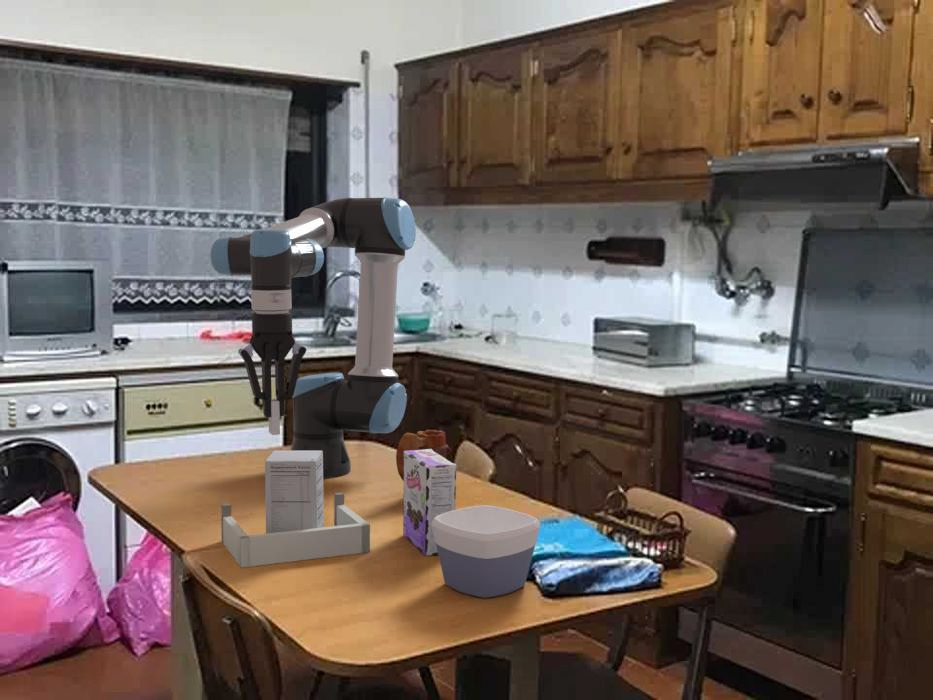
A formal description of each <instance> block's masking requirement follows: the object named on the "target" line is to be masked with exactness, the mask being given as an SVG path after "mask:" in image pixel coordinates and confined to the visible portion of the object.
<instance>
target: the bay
mask: <svg viewBox="0 0 933 700" xmlns="http://www.w3.org/2000/svg"><path fill="white" fill-rule="evenodd" d="M333 503H334V506H333V507H334V508H333V509H334V510H333V511H334V512H333V518H334V519H333V522H334V523H333V525H332V526H324V527H322V528H313V529H304V530H294V531H285V532H276V533H267V534H266V533H260V534H252V535H248V534H247V533H246V532H245V530H244V528H242V527H241V525H240V524H239V523H238V522H237V521H236V520H235V518H234V517H233V516H232V505H231V503H221V504H220V508H221V510H220V513H221V514H220V517H221V518H220V520H221V523H220V524H221V525H220V526H221V543H223V545H224V546H225V549H227V551H228V552H229V553H230V554H231V556H232V557H233V559H234V560H235V561H236V563H237V564H238V565H239V567H240V568H249V567H250V568H251V567H257V566H265V565H266V566H267V565H275V564H283V563H290V562H299V561H307V560H315V559H322V558H323V559H324V558H331V557H333V558H334V557H338V556H339V557H341V556H348V555H356V554H363V553H364V554H365V553H370V552H371V523H368V522H367V521H366V520H364V519H363V518H362V517H361V516H360V515H358V514H357V513H356V512H354V510H351V508H350V507H348V506H347V505H345V494H344V492H335V493H334V494H333Z"/></svg>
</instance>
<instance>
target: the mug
mask: <svg viewBox="0 0 933 700" xmlns="http://www.w3.org/2000/svg"><path fill="white" fill-rule="evenodd" d="M446 435H447V434H446V432H445V431H443V430H437V429H426V430H423V431H422V430H419V431H417V432H416V433H413V432H412V433H411V432H405V433H404V434H403V435H402V436H401V438H400V439H399V443H398V445H397V447H396V454H395V461H396V468H397V473H398V475H399V477H400V479H401V480H402V481H403V482H404V451H409V450H421V449H432V450H433V451H434V452H436V453H438V454H439V455H441V456H442V457H444V458H445V459H447V455H448V454H450V453H451V452H452V448H450V447H449V445H448V444H447V442H446V438H447V437H446Z"/></svg>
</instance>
